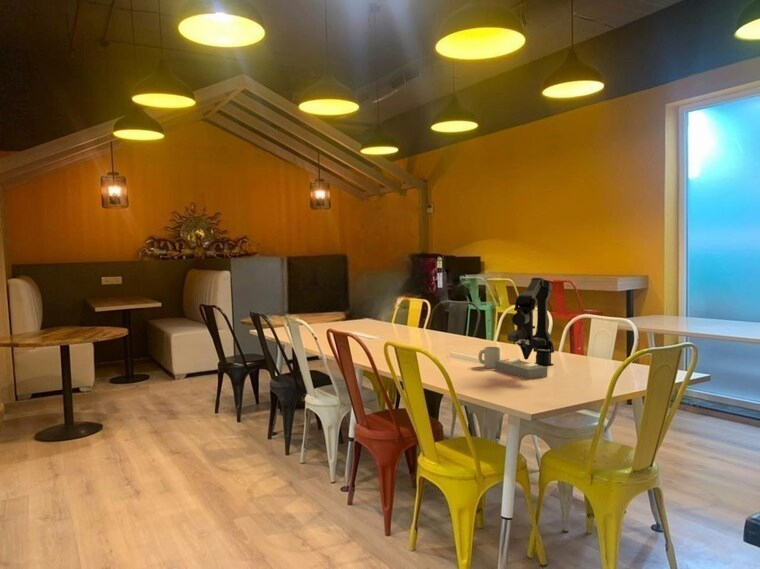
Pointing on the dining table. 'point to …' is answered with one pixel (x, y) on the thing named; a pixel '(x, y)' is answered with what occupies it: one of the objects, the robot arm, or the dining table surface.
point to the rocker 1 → (513, 360)
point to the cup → (489, 356)
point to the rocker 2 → (529, 365)
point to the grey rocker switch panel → (521, 369)
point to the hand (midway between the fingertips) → (526, 359)
